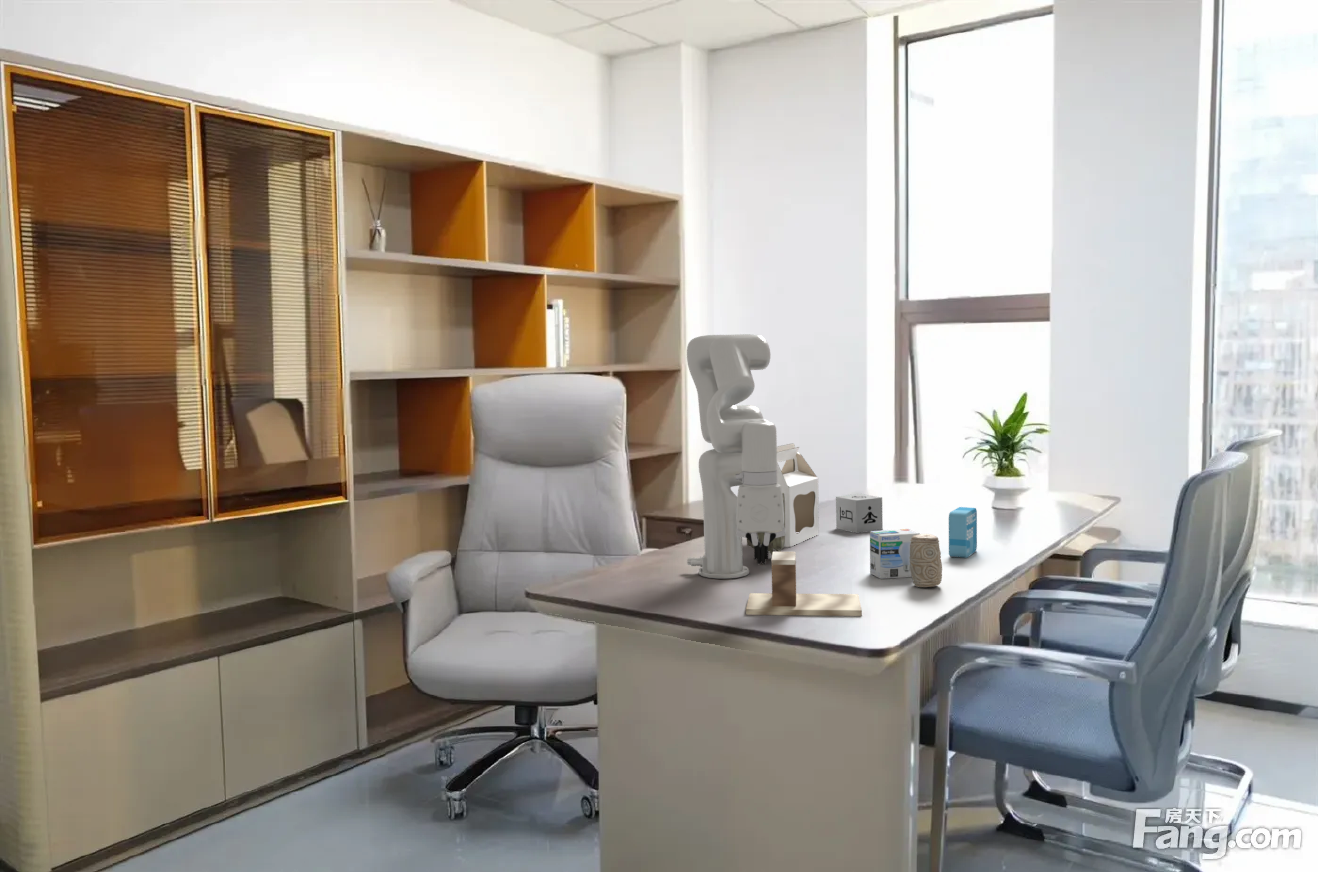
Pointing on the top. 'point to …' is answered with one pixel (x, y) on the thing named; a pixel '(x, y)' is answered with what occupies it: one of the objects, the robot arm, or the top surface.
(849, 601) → the birch board
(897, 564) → the light bulb box
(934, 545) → the carving
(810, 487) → the gable box
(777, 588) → the walnut block
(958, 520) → the data package
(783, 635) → the top surface
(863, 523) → the icon cube
